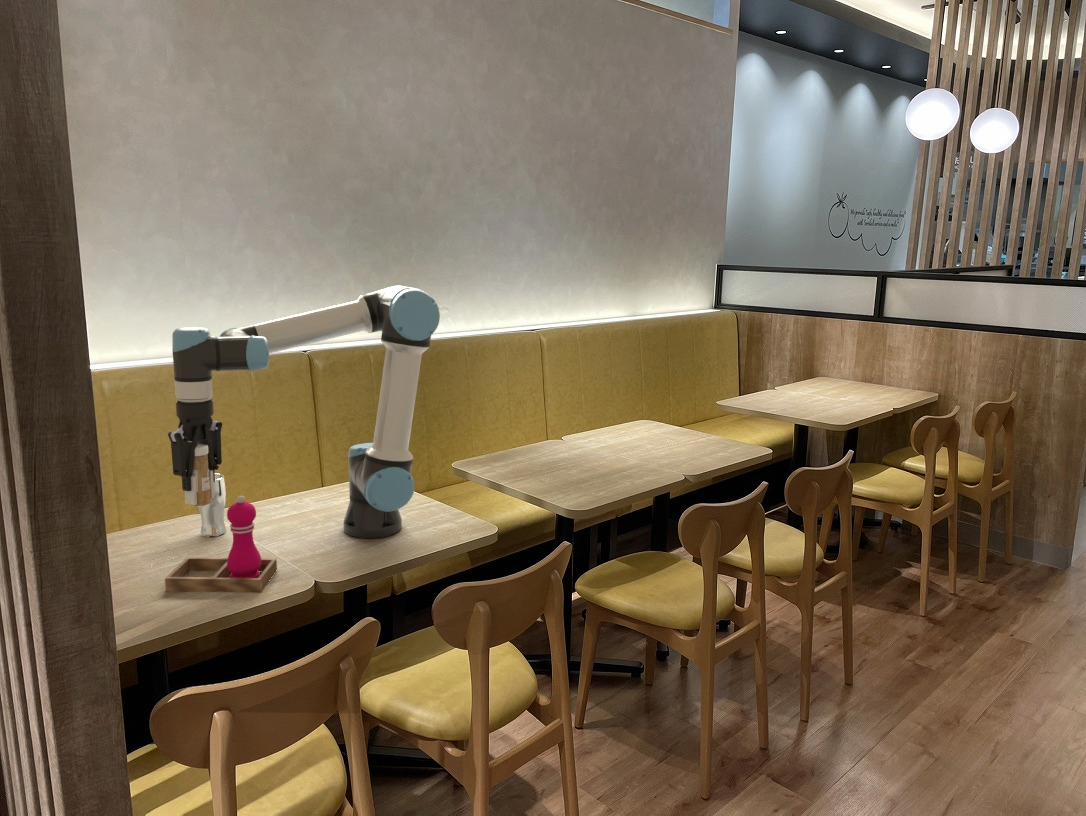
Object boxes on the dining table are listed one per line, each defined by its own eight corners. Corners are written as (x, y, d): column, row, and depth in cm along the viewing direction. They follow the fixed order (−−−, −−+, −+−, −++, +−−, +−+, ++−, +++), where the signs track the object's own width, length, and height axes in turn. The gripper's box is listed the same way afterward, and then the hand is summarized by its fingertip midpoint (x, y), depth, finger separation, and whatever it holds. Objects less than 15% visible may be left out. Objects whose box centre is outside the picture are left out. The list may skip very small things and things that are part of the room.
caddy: (277, 570, 187) (276, 558, 186) (260, 592, 175) (260, 579, 175) (187, 569, 186) (186, 557, 186) (165, 591, 175) (164, 578, 174)
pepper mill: (222, 580, 181) (217, 495, 177) (253, 571, 186) (249, 488, 182) (236, 591, 176) (231, 503, 172) (268, 581, 181) (263, 496, 177)
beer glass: (217, 538, 205) (214, 482, 202) (193, 536, 206) (189, 479, 203) (233, 529, 212) (230, 474, 208) (209, 526, 213) (205, 472, 210)
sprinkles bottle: (213, 504, 181) (210, 446, 179) (192, 508, 179) (188, 449, 176) (207, 499, 185) (204, 441, 182) (186, 502, 182) (183, 444, 179)
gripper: (210, 390, 186) (215, 487, 191) (148, 403, 170) (155, 509, 175) (236, 393, 183) (241, 492, 188) (175, 407, 167) (182, 514, 172)
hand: (199, 500), depth 182 cm, fingers closed on sprinkles bottle, 4 cm apart
